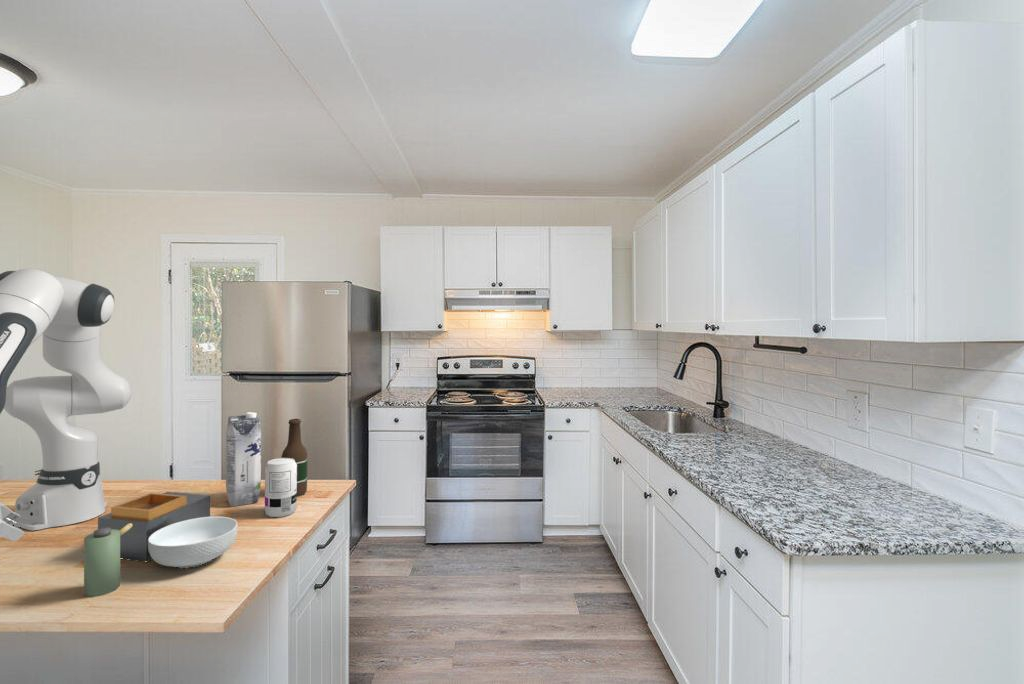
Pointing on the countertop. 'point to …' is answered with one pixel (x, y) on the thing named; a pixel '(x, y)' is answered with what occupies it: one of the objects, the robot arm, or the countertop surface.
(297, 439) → the beer bottle
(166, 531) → the cereal bowl
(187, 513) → the box
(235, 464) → the juice carton
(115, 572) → the oil can
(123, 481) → the countertop surface
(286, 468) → the supplement can
